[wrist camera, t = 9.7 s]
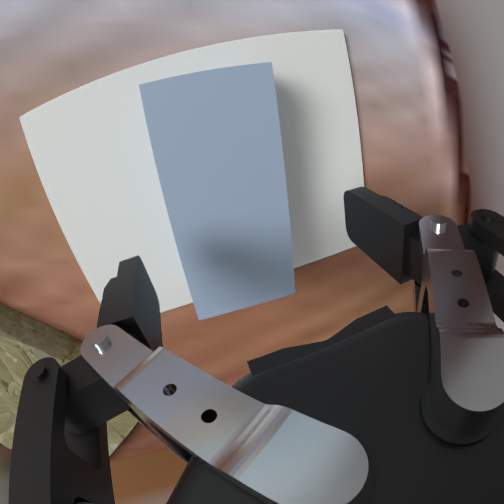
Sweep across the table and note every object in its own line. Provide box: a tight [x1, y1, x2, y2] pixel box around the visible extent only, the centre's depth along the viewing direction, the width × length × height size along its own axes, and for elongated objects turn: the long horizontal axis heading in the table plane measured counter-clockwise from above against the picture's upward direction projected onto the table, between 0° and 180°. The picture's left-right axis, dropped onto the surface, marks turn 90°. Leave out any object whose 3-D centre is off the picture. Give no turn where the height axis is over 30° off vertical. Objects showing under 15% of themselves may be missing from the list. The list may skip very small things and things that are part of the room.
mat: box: [19, 29, 364, 313], centre depth 18 cm, size 19×15×1 cm
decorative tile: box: [0, 303, 138, 456], centre depth 21 cm, size 19×20×4 cm
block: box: [139, 62, 295, 320], centre depth 16 cm, size 12×6×4 cm, turn 7°
